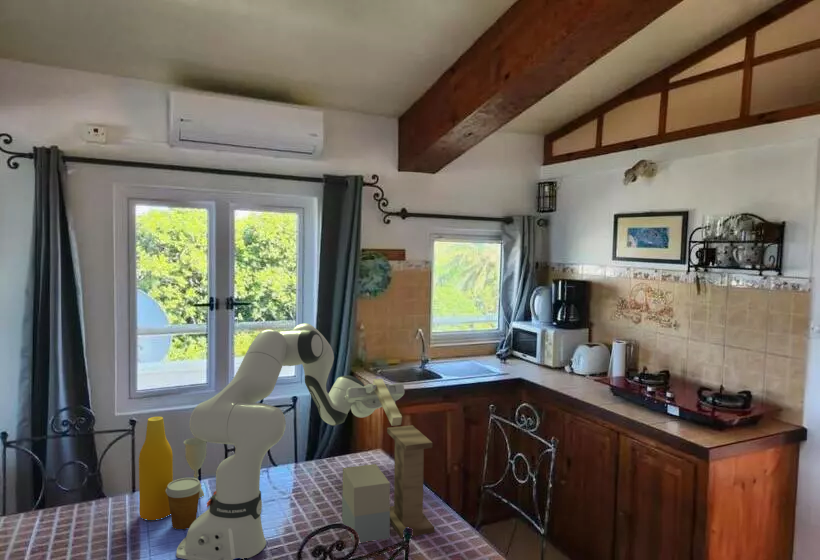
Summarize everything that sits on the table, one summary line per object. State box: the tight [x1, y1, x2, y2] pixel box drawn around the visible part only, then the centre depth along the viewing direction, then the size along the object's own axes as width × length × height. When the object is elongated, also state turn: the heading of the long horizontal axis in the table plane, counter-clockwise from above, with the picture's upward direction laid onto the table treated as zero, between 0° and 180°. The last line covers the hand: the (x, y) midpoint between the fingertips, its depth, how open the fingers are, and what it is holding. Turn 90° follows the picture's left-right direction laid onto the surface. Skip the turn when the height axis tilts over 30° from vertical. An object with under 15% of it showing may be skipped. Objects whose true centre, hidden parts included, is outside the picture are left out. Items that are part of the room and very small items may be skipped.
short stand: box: [386, 424, 435, 539], centre depth 161 cm, size 16×10×26 cm, turn 21°
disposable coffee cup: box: [166, 477, 202, 530], centre depth 158 cm, size 10×10×12 cm
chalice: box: [183, 437, 208, 499], centre depth 176 cm, size 7×7×18 cm
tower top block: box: [342, 463, 391, 517], centre depth 157 cm, size 14×10×8 cm
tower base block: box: [341, 494, 391, 544], centre depth 157 cm, size 14×10×8 cm
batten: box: [372, 378, 403, 427], centre depth 180 cm, size 22×3×3 cm, turn 21°
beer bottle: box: [138, 416, 174, 520], centre depth 164 cm, size 9×9×29 cm
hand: (380, 386), depth 186 cm, fingers closed on batten, 3 cm apart
